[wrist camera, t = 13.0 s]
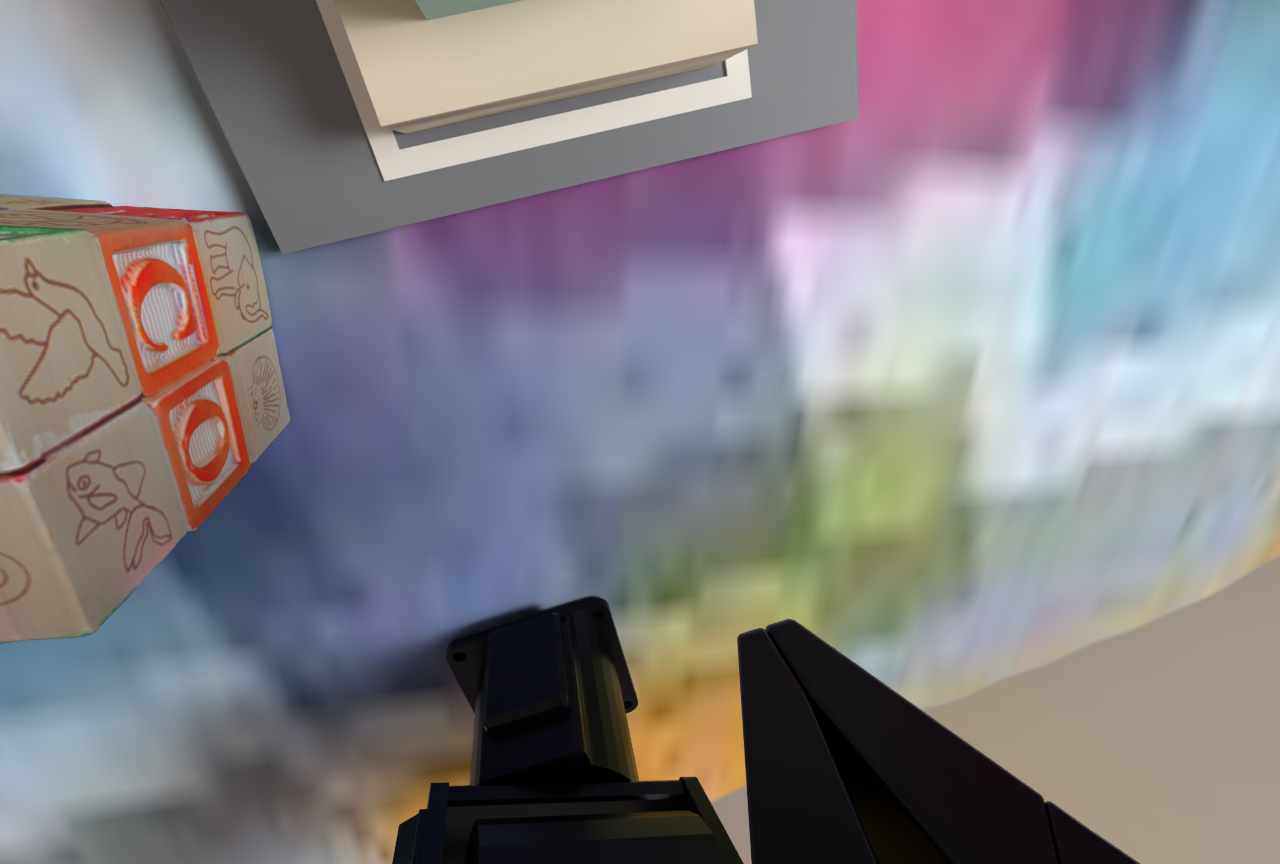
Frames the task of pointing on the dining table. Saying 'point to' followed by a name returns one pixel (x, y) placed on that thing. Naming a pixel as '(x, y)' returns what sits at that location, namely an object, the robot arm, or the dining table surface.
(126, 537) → the stack of blocks
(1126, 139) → the dining table surface
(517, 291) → the dining table surface
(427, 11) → the teal cube
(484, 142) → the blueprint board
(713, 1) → the maple slab
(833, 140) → the dining table surface
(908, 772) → the robot arm
